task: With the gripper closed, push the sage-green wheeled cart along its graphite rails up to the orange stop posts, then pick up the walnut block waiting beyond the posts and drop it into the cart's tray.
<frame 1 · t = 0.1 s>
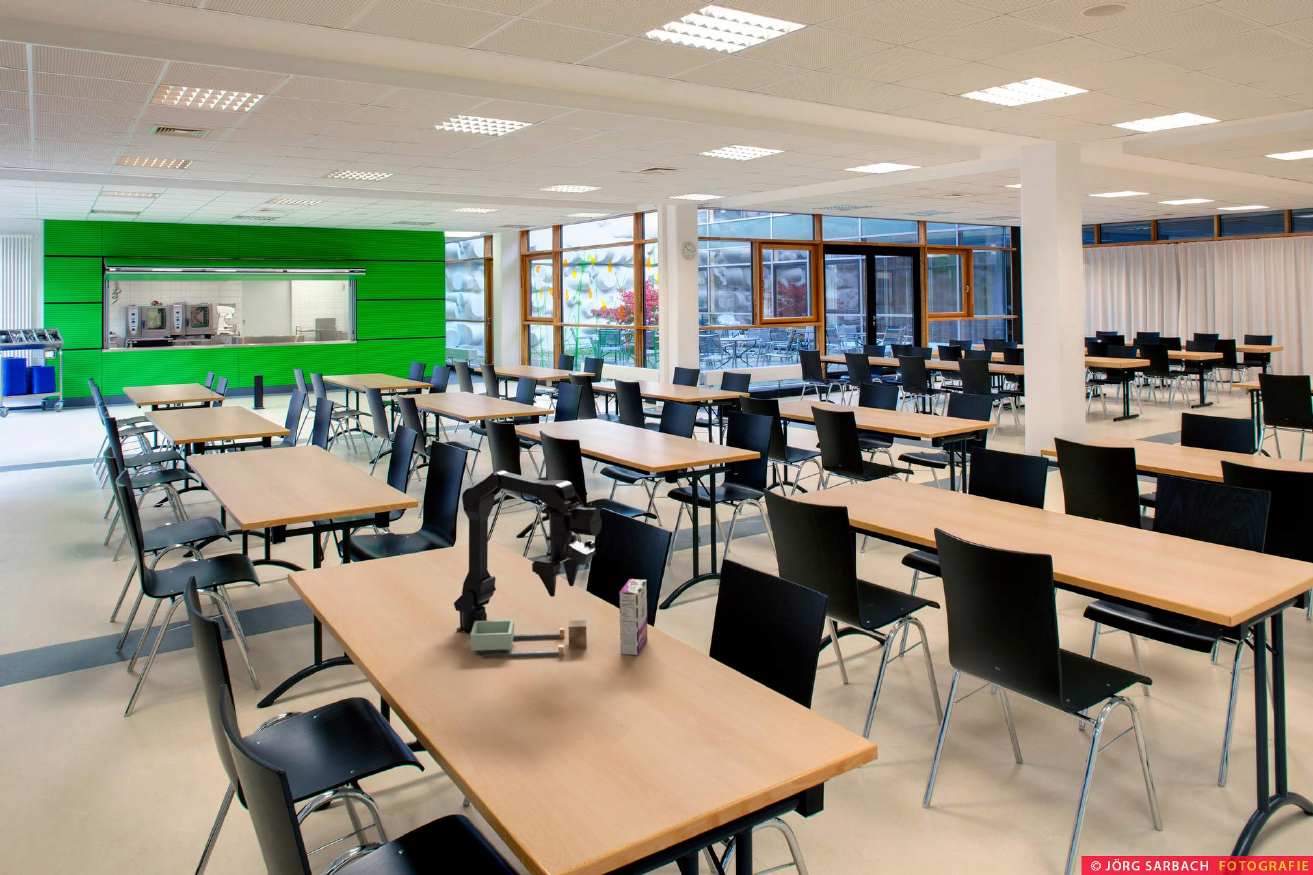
hand: (562, 591, 227), 15 cm above the table, tool pointing down, fingers open, 9 cm apart
rails: (532, 646, 228), on the table
walnut block: (577, 645, 229), on the table
cart: (492, 637, 227), point 3 cm above the table, slide at 0.0 cm
candy bar box: (633, 647, 228), on the table
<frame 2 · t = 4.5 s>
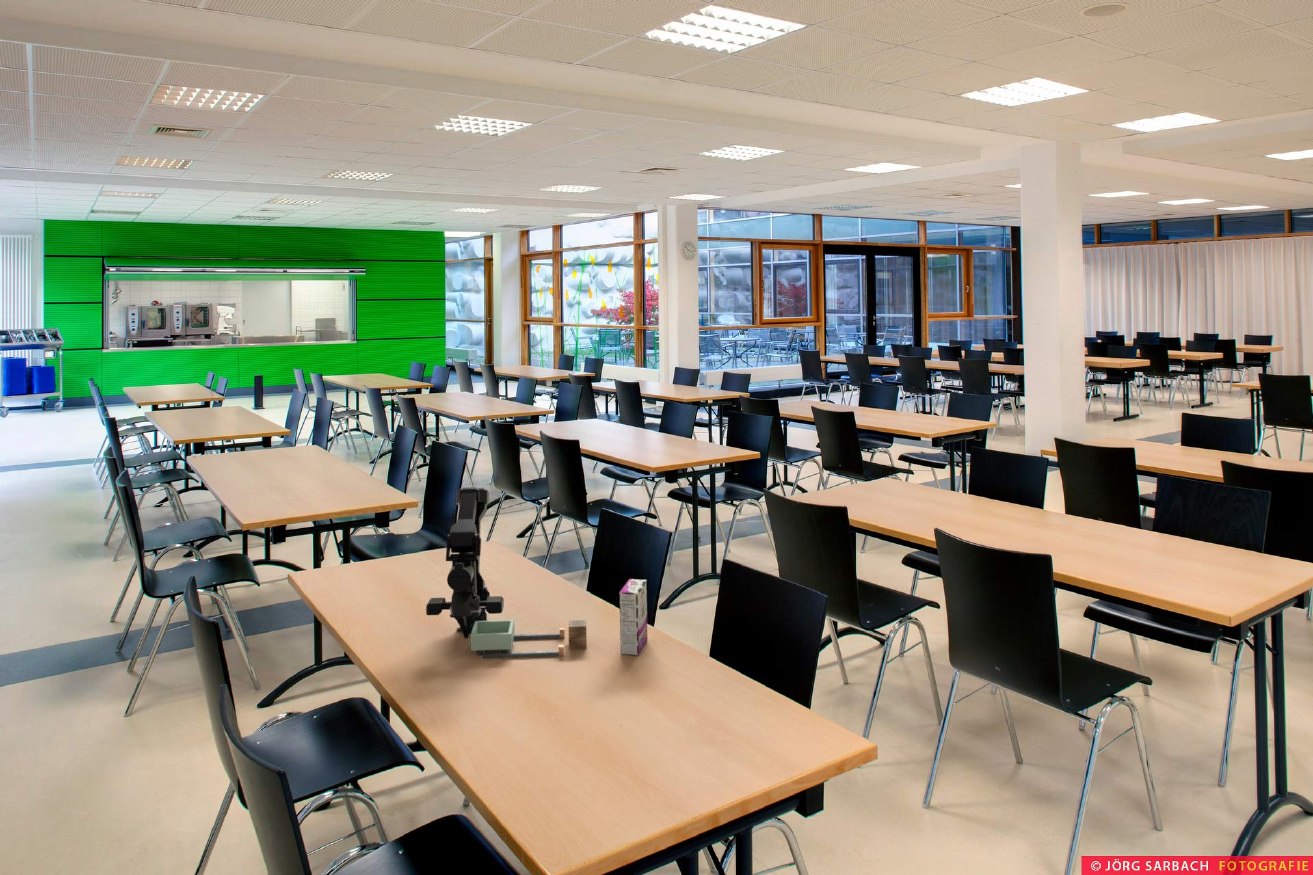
hand: (466, 637, 226), 3 cm above the table, tool pointing down, fingers closed
cart: (493, 637, 227), point 3 cm above the table, slide at 0.1 cm, touching gripper
everything else where it was.
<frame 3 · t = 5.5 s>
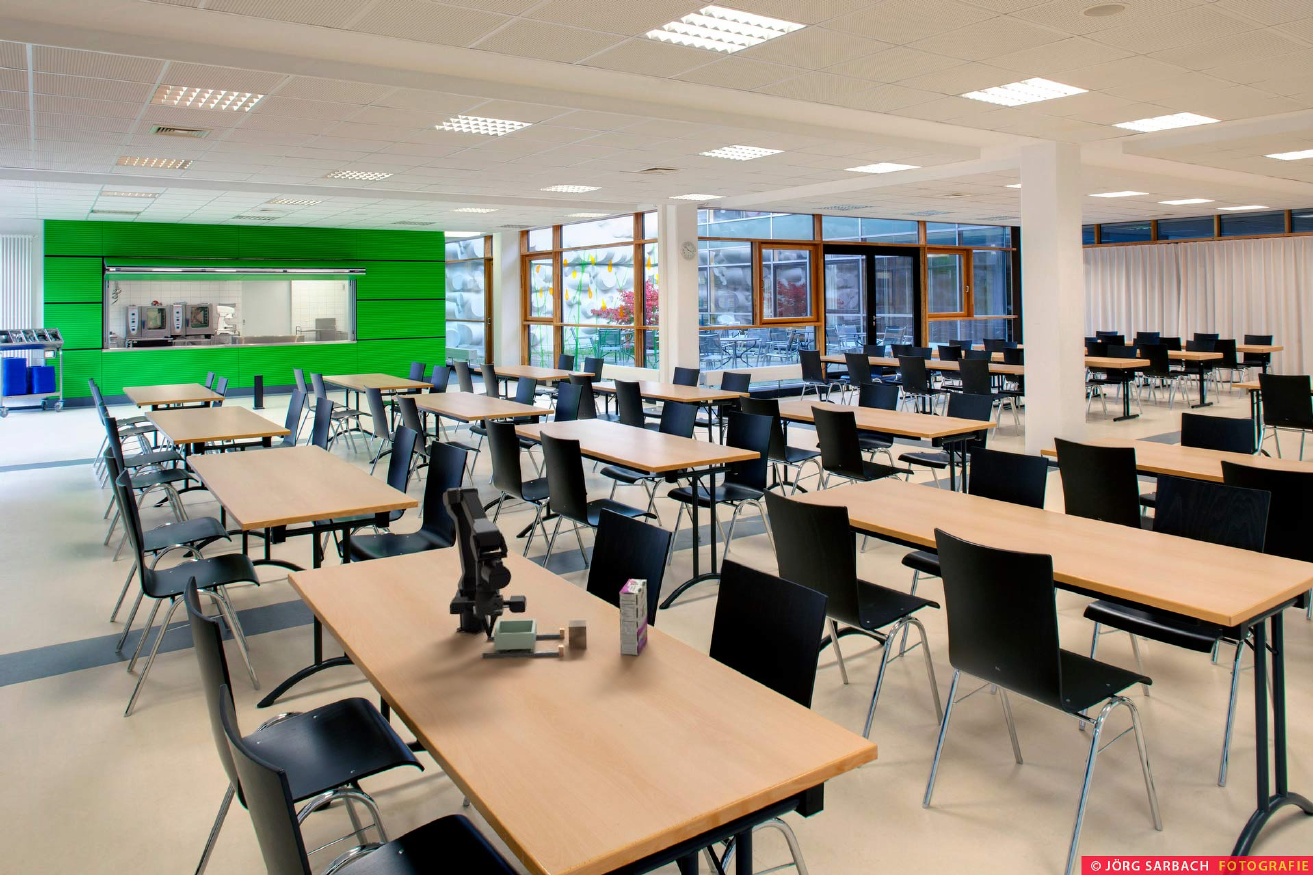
hand: (489, 637, 227), 3 cm above the table, tool pointing down, fingers closed
cart: (515, 636, 228), point 3 cm above the table, slide at 5.8 cm, touching gripper
everything else where it was.
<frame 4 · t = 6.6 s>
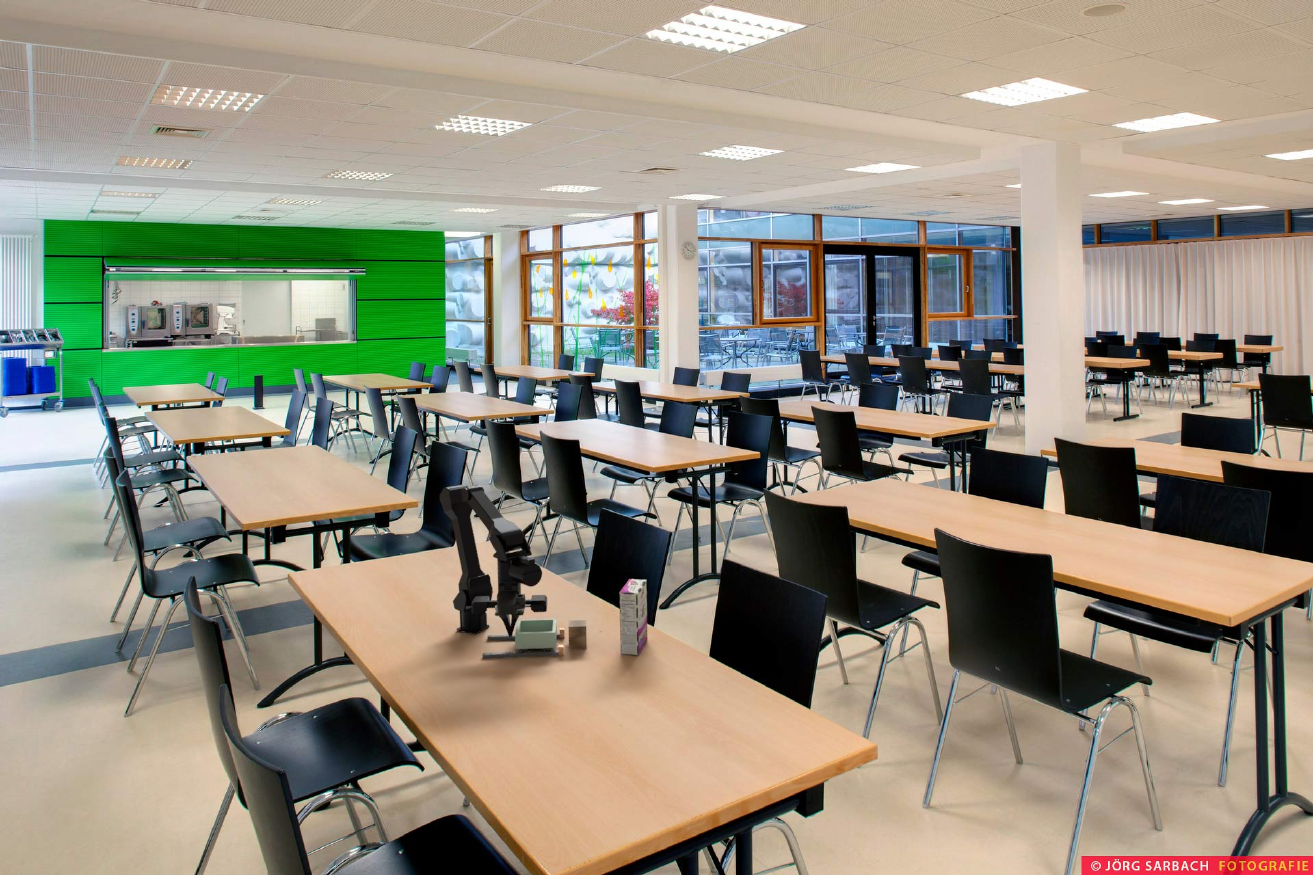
hand: (510, 636, 227), 3 cm above the table, tool pointing down, fingers closed
cart: (536, 635, 228), point 3 cm above the table, slide at 11.0 cm, touching gripper
everything else where it was.
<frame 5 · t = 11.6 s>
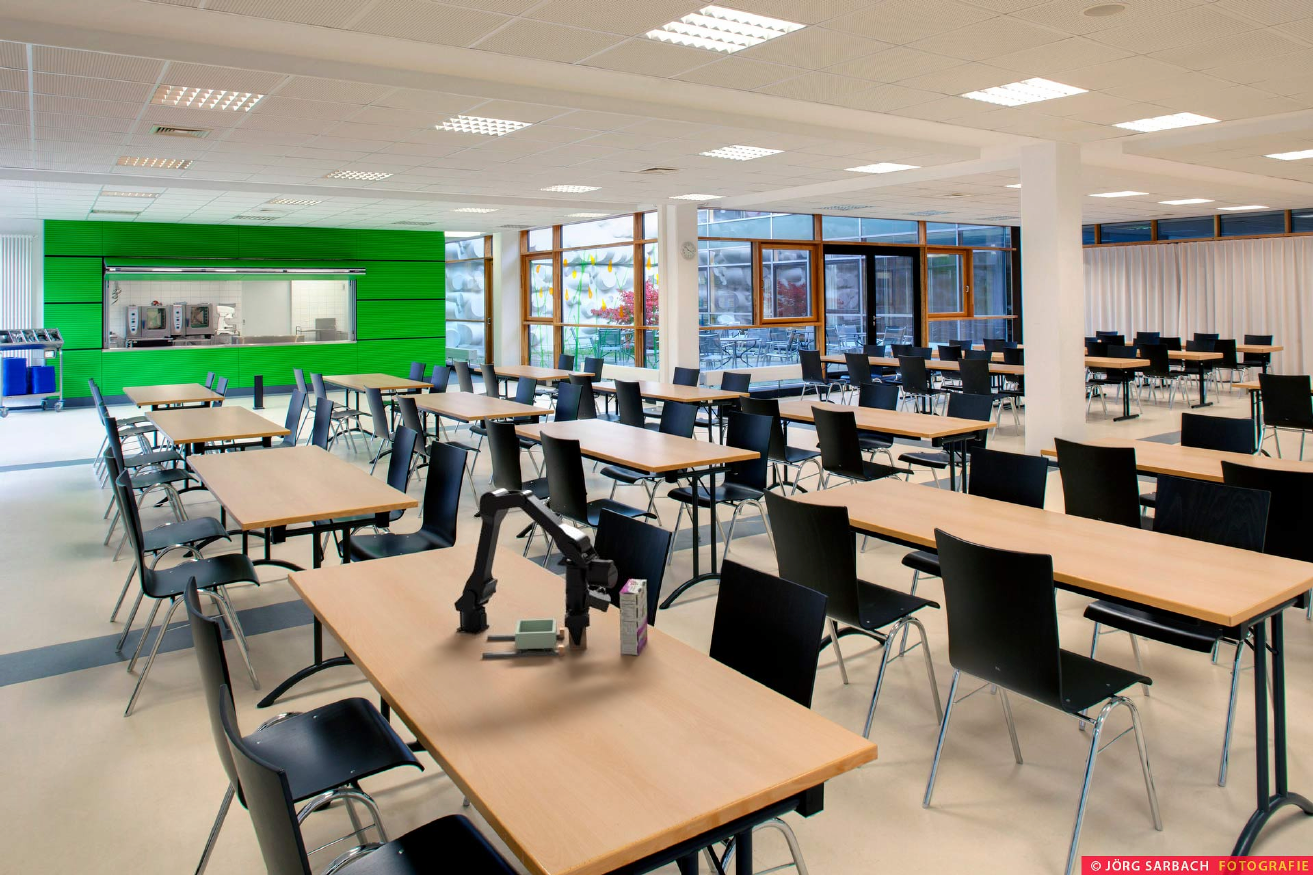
hand: (577, 641, 229), 1 cm above the table, tool pointing down, fingers closed on walnut block, 4 cm apart
walnut block: (577, 645, 229), on the table, touching gripper
cart: (536, 635, 228), point 3 cm above the table, slide at 11.0 cm
everything else where it was.
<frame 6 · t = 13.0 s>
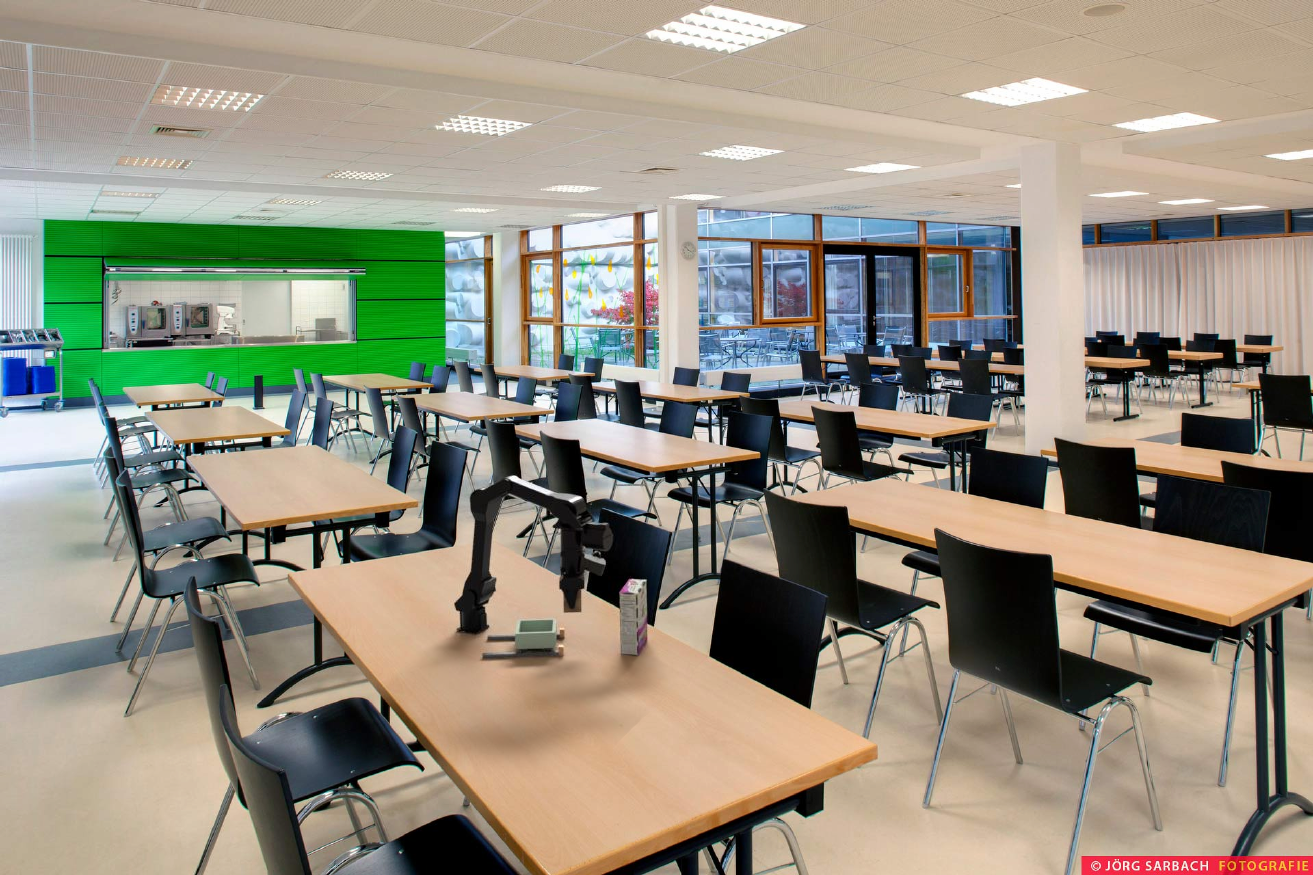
hand: (572, 605, 228), 11 cm above the table, tool pointing down, fingers closed on walnut block, 4 cm apart
walnut block: (572, 609, 228), point 10 cm above the table, touching gripper
everything else where it was.
when the fingers open (6 cm above the table, at t = 14.7 s): walnut block drops 3 cm, resting on cart.
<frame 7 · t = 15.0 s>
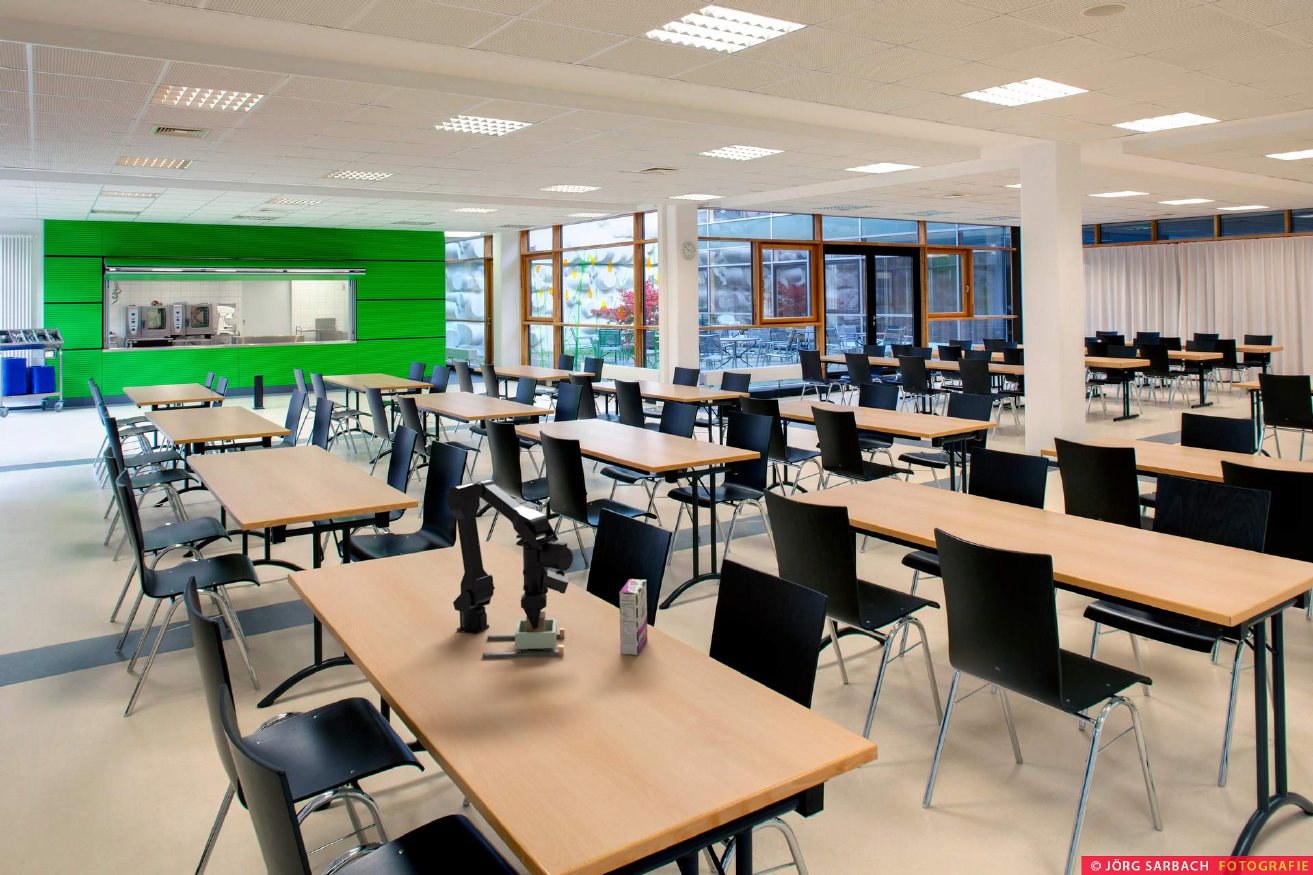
hand: (536, 623, 227), 6 cm above the table, tool pointing down, fingers open, 7 cm apart
walnut block: (536, 637, 228), point 3 cm above the table, touching cart
cart: (536, 635, 228), point 3 cm above the table, slide at 11.0 cm, touching walnut block
everything else where it was.
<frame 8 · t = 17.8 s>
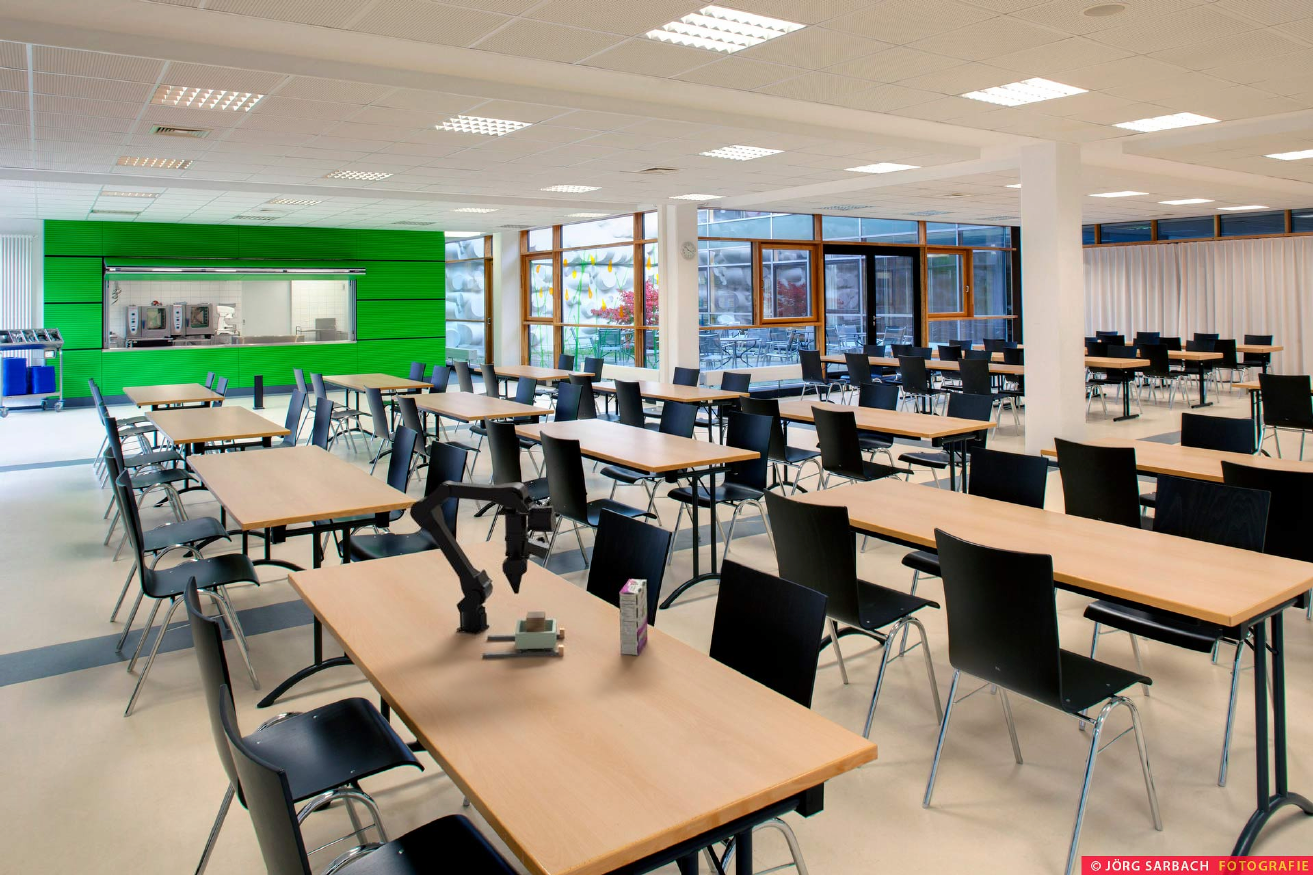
hand: (517, 588, 238), 12 cm above the table, tool pointing down, fingers open, 9 cm apart
nothing on the table moved.
at the end: cart slide at 11.0 cm; walnut block inside the target area (0.1 cm from its centre), point 2.6 cm above the table; the gripper is holding nothing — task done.
